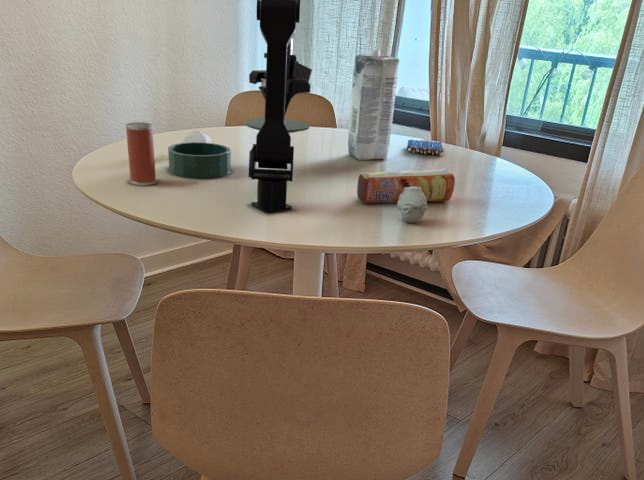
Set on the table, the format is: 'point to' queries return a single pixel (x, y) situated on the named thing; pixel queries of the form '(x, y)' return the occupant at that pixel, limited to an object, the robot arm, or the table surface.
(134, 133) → the tin can
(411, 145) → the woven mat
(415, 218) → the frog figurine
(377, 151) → the juice carton
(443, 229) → the table surface
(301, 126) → the pot lid
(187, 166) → the pot
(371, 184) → the snack package
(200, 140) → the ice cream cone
